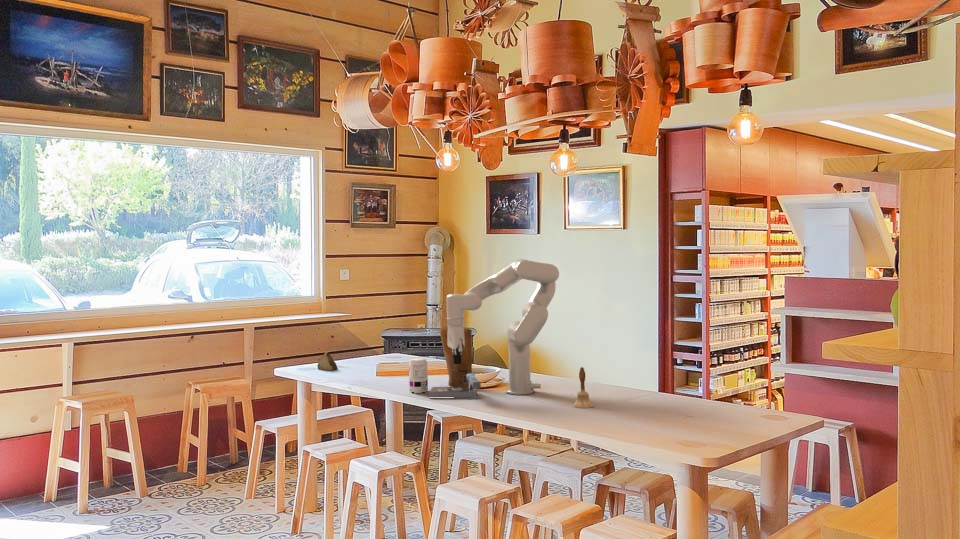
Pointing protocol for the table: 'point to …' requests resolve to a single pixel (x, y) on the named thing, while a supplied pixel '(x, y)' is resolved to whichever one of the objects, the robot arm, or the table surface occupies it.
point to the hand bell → (582, 393)
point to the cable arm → (473, 381)
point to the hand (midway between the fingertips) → (457, 363)
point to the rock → (327, 362)
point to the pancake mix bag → (461, 370)
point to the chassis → (453, 392)
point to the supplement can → (418, 375)
